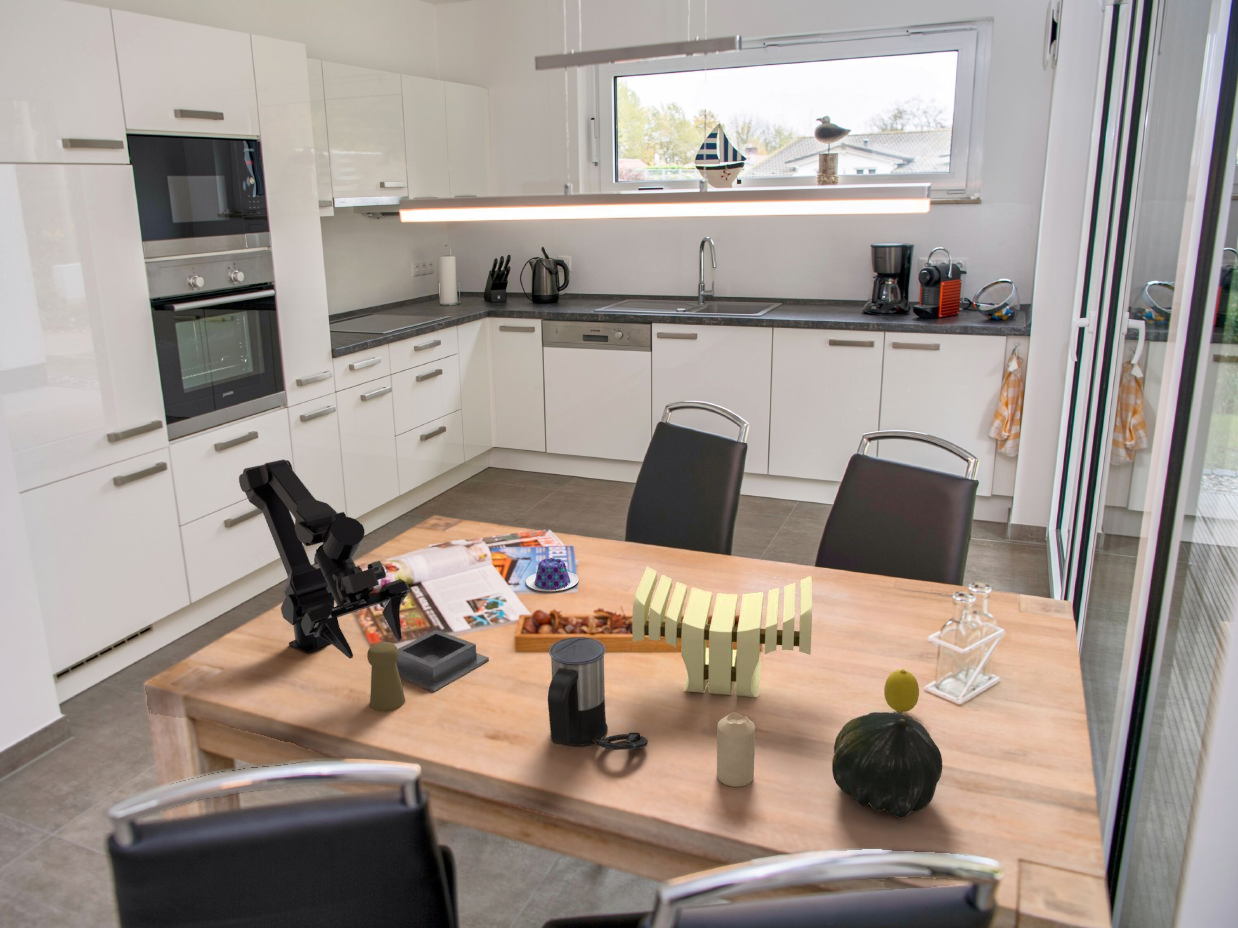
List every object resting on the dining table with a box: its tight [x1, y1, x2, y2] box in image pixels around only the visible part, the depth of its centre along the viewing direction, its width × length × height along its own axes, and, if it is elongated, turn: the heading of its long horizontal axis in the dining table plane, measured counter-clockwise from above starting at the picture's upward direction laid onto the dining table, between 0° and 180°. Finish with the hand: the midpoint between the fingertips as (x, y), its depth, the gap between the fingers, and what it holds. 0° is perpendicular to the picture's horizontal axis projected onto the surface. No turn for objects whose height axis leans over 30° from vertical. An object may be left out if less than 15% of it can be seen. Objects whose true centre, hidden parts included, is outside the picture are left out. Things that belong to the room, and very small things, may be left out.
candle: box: [716, 711, 756, 788], centre depth 135 cm, size 6×6×10 cm
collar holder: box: [396, 629, 490, 693], centre depth 171 cm, size 14×14×4 cm
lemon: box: [883, 668, 920, 714], centre depth 151 cm, size 6×6×8 cm
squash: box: [831, 711, 943, 819], centre depth 129 cm, size 14×15×15 cm
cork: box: [366, 641, 406, 713], centre depth 157 cm, size 6×6×11 cm
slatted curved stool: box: [631, 565, 813, 698], centre depth 162 cm, size 30×16×18 cm, turn 79°
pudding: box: [525, 557, 579, 592], centre depth 207 cm, size 12×12×5 cm
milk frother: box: [547, 636, 649, 751], centre depth 144 cm, size 14×16×15 cm
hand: (376, 648), depth 158 cm, fingers open, 9 cm apart
